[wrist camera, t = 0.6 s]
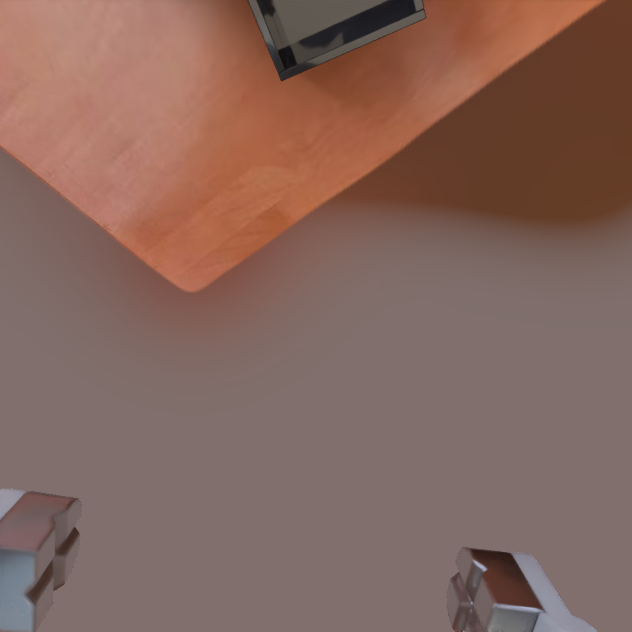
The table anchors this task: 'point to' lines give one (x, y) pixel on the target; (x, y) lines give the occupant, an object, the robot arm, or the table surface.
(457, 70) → the table surface
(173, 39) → the table surface
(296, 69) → the dark open tray box
